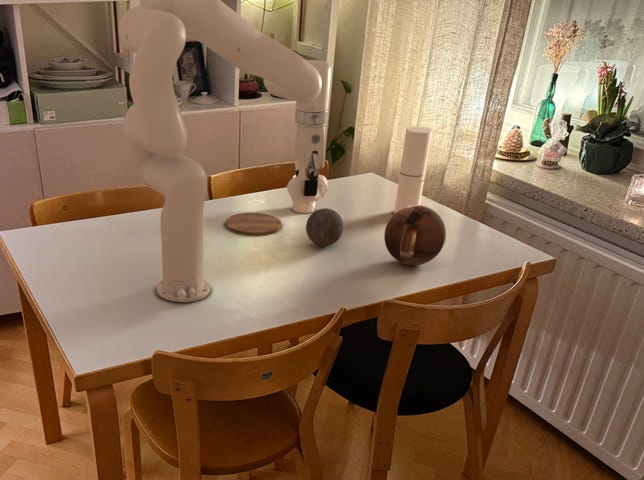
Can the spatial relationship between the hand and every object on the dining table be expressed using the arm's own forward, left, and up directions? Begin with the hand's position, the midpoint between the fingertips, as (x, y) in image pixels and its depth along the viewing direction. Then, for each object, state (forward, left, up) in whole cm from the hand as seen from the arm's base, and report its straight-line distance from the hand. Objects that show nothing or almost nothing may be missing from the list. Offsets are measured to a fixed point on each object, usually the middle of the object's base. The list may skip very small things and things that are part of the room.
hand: (305, 190), depth 174 cm
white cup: (+35, -10, -18) cm, 40 cm away
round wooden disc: (+24, +8, -18) cm, 31 cm away
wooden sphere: (-8, -27, -18) cm, 34 cm away
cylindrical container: (+27, -40, -18) cm, 51 cm away
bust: (0, 0, -3) cm, 3 cm away
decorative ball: (+7, -8, -18) cm, 21 cm away
